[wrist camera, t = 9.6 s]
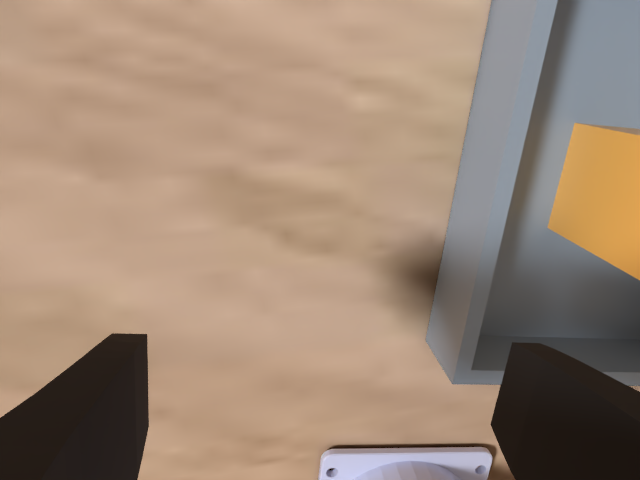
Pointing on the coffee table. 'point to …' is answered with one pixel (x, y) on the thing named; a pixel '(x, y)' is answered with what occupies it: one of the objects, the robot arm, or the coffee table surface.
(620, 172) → the orange fuse
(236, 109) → the coffee table surface
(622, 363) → the tray
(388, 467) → the robot arm
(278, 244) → the coffee table surface
